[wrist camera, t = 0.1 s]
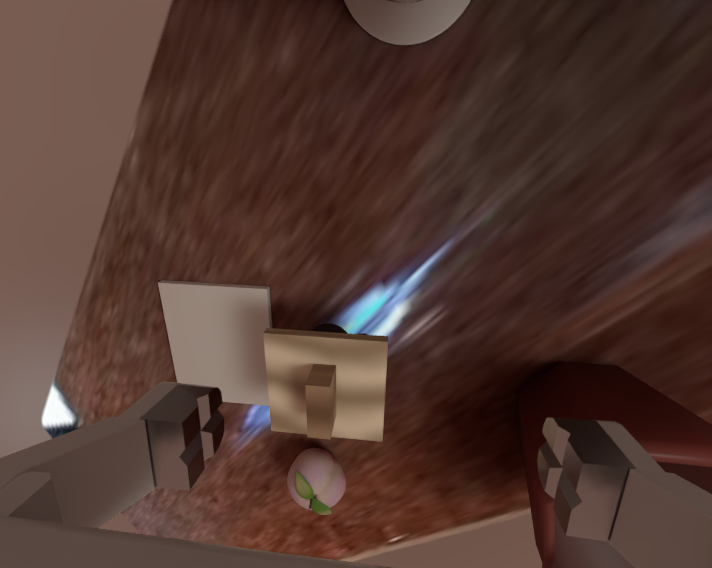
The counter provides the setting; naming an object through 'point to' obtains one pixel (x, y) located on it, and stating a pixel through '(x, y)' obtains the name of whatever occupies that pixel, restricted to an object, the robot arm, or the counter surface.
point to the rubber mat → (219, 336)
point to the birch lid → (326, 383)
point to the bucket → (605, 403)
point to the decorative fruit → (316, 480)
